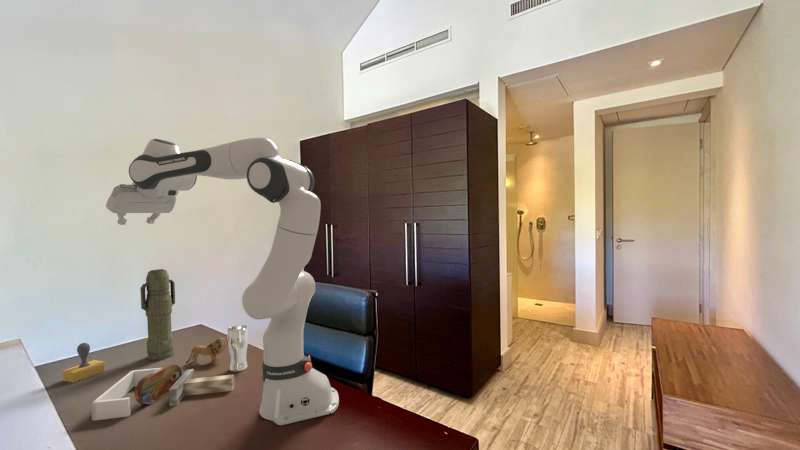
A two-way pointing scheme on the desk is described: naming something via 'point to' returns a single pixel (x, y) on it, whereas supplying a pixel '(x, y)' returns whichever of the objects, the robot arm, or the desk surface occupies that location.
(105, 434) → the desk surface
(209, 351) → the lion figurine
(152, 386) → the tin
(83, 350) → the rubber stamp
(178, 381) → the scraper
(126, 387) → the box
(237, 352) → the beer glass
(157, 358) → the thermos
